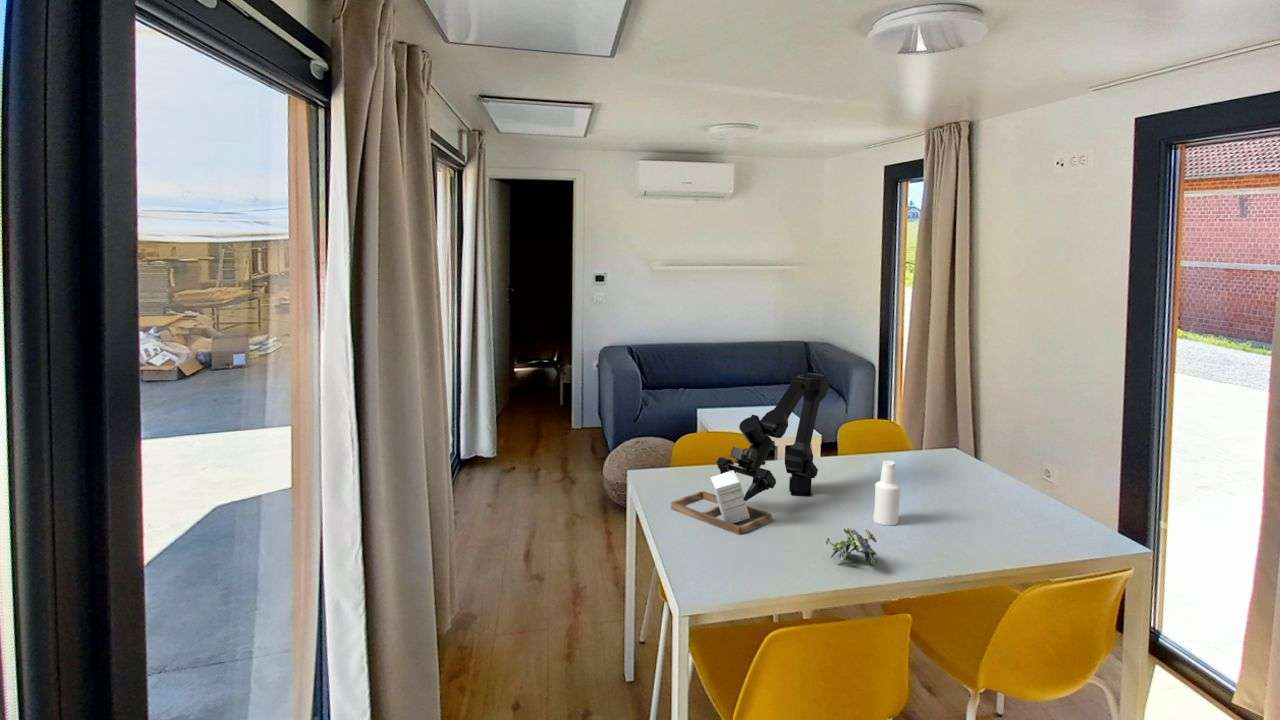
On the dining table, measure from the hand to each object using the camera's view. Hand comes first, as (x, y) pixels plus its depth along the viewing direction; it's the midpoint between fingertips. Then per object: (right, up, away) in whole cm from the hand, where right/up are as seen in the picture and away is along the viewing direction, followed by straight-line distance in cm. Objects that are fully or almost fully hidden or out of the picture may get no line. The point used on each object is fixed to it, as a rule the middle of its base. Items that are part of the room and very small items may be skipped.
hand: (731, 495), depth 198 cm
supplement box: (+1, -6, +2) cm, 7 cm away
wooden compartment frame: (-3, -7, +7) cm, 10 cm away
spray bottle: (+45, -8, +2) cm, 46 cm away
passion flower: (+27, -13, -25) cm, 39 cm away
